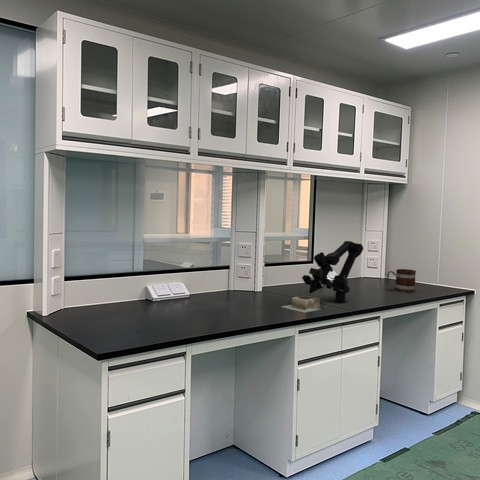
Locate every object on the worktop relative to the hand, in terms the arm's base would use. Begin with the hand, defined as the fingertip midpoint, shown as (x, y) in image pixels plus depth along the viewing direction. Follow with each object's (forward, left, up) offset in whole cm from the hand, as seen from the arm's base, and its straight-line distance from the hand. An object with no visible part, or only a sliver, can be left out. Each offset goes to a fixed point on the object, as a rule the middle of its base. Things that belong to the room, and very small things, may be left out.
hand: (309, 293), depth 267 cm
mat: (+7, 0, -8) cm, 10 cm away
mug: (-99, 0, -8) cm, 100 cm away
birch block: (-3, 0, -5) cm, 6 cm away
